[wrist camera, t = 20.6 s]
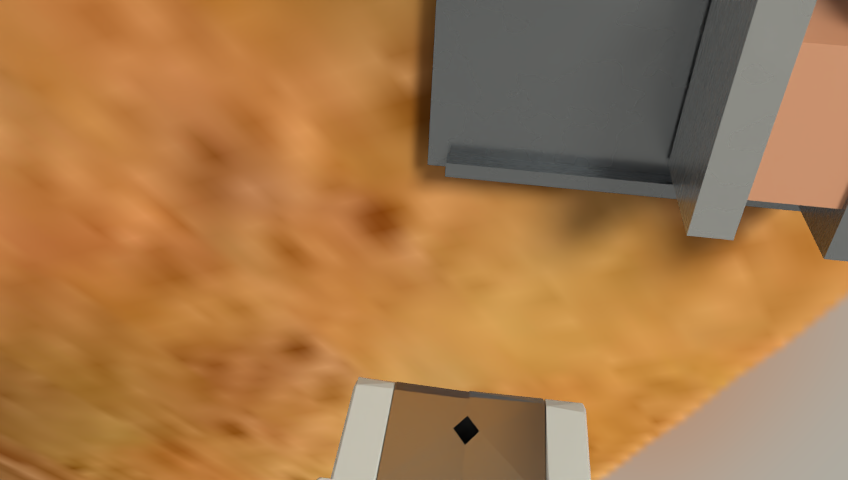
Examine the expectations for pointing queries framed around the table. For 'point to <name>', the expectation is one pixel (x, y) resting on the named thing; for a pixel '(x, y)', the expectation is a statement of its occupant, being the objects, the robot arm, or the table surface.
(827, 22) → the rust block
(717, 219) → the sliding jaw
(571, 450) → the robot arm
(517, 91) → the vise base
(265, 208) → the table surface
